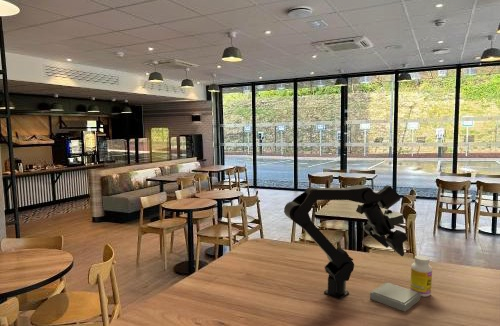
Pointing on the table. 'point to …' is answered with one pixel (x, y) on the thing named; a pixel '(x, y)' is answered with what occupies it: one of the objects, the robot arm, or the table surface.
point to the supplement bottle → (421, 276)
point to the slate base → (395, 296)
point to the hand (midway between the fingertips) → (395, 251)
